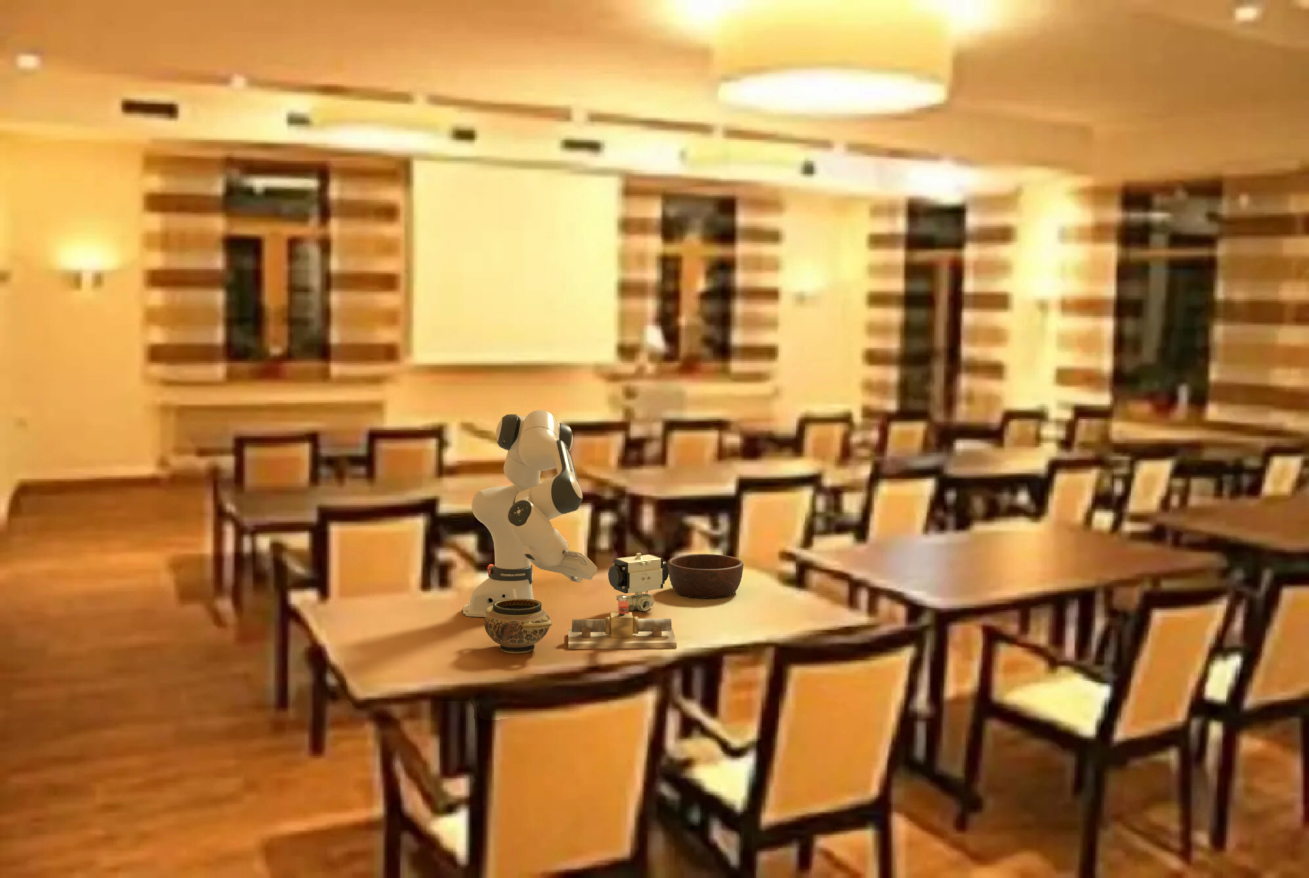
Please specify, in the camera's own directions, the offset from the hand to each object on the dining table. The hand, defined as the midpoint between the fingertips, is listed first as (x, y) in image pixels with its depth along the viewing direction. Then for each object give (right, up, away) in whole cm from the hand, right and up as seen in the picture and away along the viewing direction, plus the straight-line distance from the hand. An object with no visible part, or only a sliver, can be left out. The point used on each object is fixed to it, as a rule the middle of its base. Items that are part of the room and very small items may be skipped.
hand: (577, 579), depth 333 cm
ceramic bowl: (-17, -21, +14) cm, 31 cm away
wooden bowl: (+37, -13, +83) cm, 92 cm away
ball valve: (+16, -16, +59) cm, 63 cm away
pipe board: (+11, -20, +23) cm, 33 cm away
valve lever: (+11, -9, +16) cm, 22 cm away
